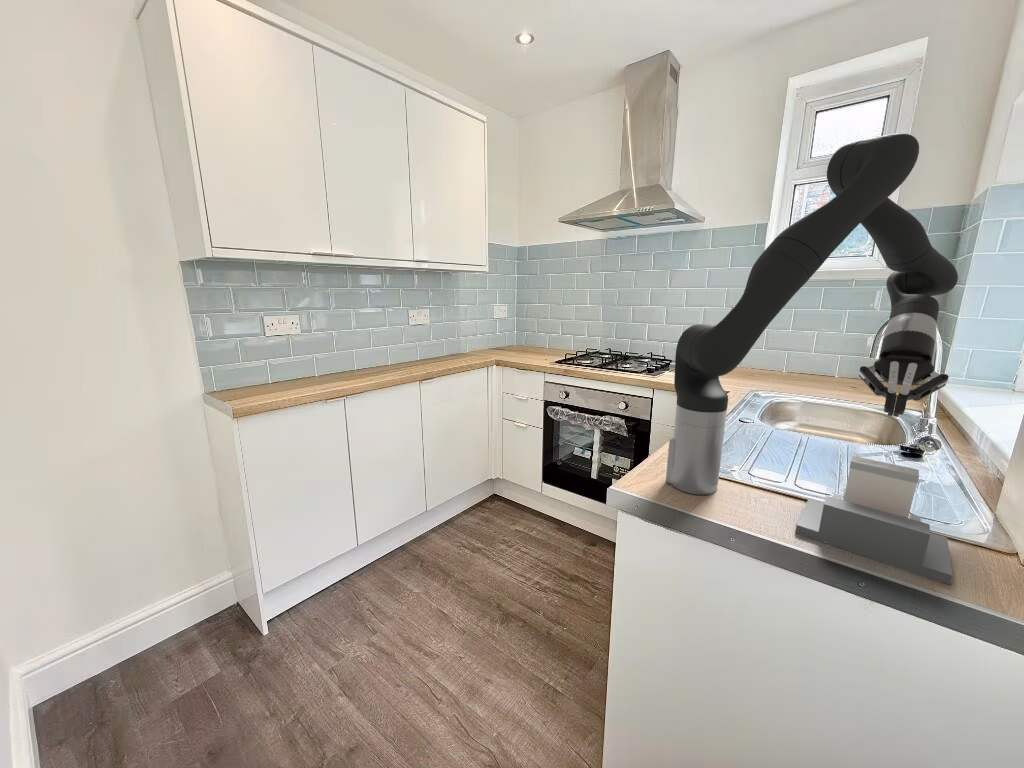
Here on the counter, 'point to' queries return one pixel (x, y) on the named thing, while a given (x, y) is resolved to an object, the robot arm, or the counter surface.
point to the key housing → (878, 536)
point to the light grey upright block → (881, 486)
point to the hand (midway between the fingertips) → (893, 414)
